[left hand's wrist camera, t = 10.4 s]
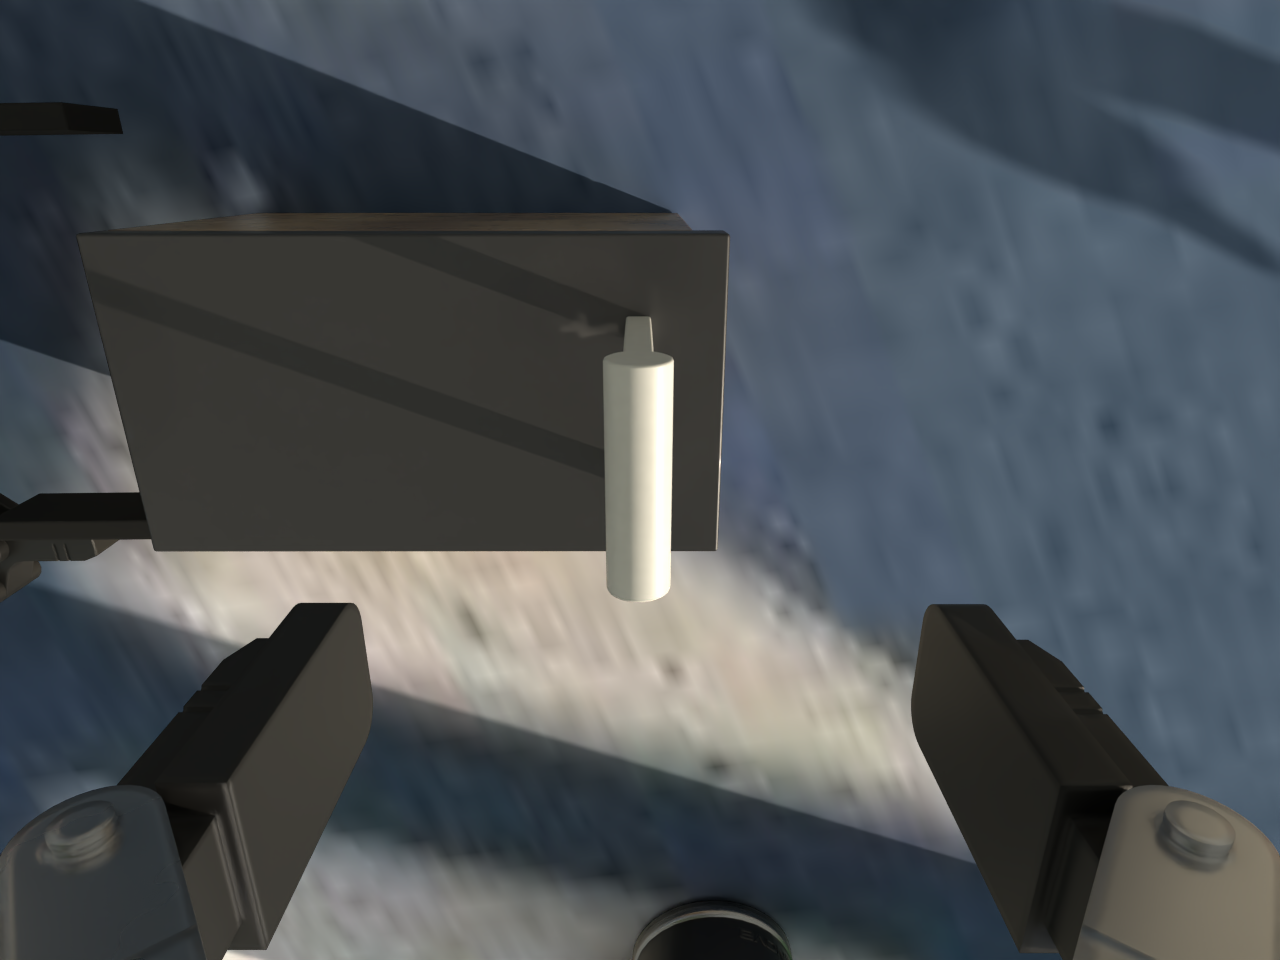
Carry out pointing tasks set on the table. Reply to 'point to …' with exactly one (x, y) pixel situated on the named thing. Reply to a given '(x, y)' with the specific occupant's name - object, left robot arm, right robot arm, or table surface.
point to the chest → (430, 222)
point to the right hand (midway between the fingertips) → (147, 334)
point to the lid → (422, 389)
